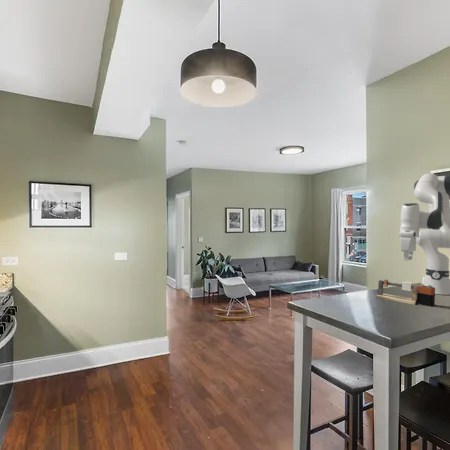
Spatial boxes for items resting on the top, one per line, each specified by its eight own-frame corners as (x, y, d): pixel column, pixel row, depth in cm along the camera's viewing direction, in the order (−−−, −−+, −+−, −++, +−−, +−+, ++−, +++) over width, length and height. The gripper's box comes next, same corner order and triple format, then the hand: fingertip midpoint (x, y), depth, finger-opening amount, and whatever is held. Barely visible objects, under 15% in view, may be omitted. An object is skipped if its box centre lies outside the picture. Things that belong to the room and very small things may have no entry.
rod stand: (380, 295, 173) (381, 278, 173) (417, 301, 161) (418, 283, 162) (375, 297, 166) (376, 279, 166) (414, 304, 154) (415, 285, 154)
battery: (431, 306, 152) (432, 286, 152) (416, 303, 157) (417, 284, 157) (434, 305, 154) (435, 285, 154) (419, 302, 160) (420, 283, 160)
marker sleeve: (403, 288, 164) (403, 281, 164) (412, 290, 161) (412, 282, 161) (401, 289, 160) (402, 282, 160) (410, 291, 158) (410, 283, 158)
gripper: (406, 233, 171) (405, 258, 171) (398, 232, 155) (397, 260, 155) (419, 234, 167) (418, 259, 166) (412, 233, 151) (411, 261, 151)
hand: (408, 260), depth 161 cm, fingers open, 8 cm apart
